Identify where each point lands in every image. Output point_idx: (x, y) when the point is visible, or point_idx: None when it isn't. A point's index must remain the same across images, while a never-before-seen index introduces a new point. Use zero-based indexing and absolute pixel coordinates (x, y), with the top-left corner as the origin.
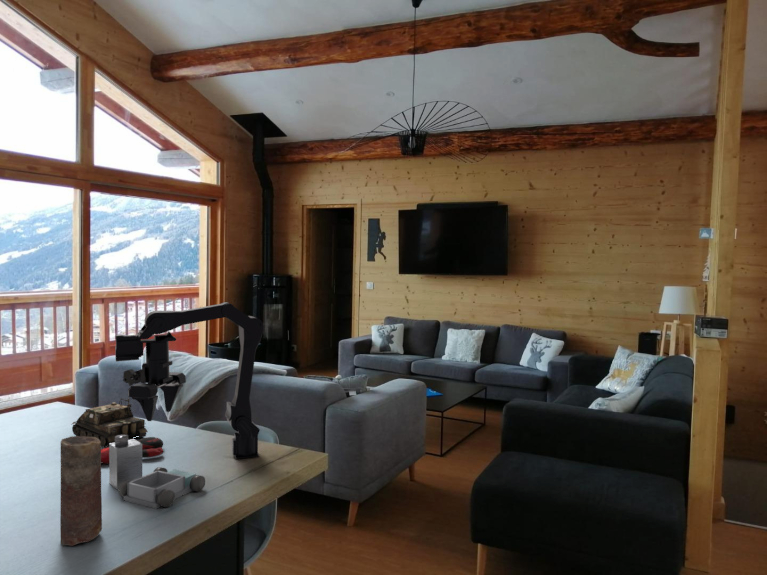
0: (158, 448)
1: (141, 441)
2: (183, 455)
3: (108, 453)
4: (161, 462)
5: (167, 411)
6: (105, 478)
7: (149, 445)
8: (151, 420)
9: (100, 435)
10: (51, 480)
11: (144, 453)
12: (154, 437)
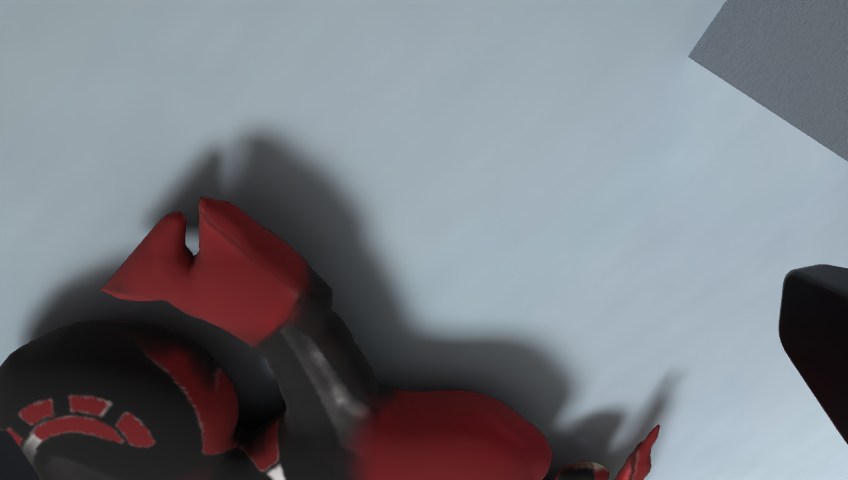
0: (168, 280)
1: (173, 476)
2: (19, 56)
3: (510, 475)
4: (289, 111)
5: (30, 470)
6: (748, 238)
7: (175, 382)
8: (808, 268)
9: None
10: (828, 467)
11: (324, 299)
12: None
